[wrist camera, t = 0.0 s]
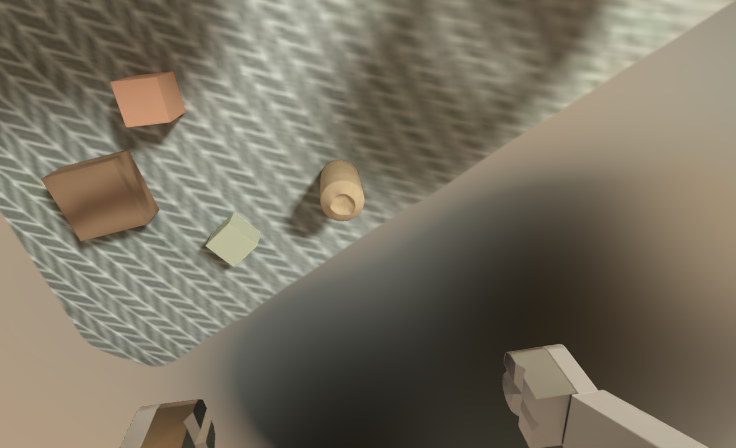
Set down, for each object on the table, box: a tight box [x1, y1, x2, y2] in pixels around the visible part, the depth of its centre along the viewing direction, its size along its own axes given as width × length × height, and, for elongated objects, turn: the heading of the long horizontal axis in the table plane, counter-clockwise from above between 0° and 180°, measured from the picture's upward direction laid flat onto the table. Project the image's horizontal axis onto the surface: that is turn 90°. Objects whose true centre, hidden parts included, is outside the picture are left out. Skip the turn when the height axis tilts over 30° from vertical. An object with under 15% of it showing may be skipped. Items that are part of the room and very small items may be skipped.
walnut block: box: [41, 150, 159, 241], centre depth 54 cm, size 9×9×5 cm
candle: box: [320, 160, 364, 221], centre depth 55 cm, size 6×6×10 cm
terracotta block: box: [110, 71, 185, 127], centre depth 49 cm, size 5×5×6 cm
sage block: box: [206, 211, 261, 267], centre depth 60 cm, size 5×5×4 cm
